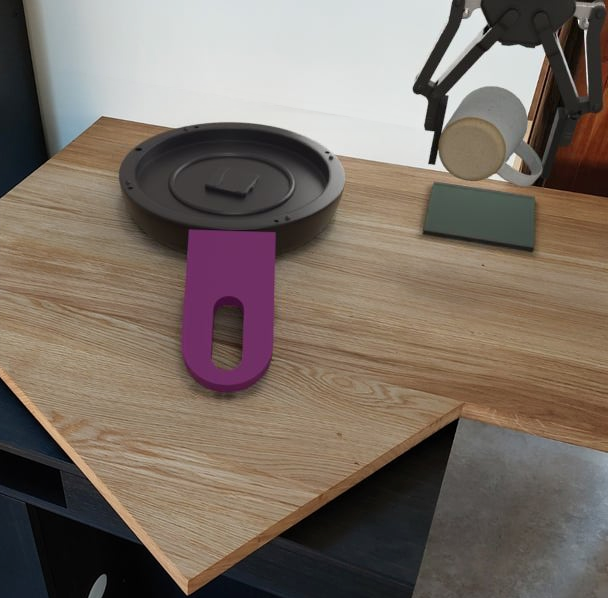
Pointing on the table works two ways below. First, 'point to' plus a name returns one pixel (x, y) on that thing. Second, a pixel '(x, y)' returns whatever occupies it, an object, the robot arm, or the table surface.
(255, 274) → the mounting bracket
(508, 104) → the ceramic mug
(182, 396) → the table surface
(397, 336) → the table surface
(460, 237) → the mat
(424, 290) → the table surface
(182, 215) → the round tray
